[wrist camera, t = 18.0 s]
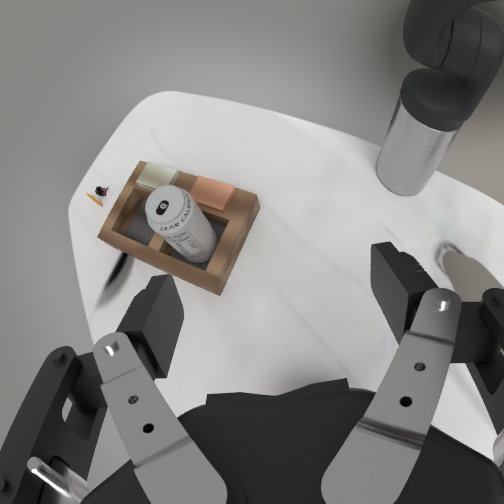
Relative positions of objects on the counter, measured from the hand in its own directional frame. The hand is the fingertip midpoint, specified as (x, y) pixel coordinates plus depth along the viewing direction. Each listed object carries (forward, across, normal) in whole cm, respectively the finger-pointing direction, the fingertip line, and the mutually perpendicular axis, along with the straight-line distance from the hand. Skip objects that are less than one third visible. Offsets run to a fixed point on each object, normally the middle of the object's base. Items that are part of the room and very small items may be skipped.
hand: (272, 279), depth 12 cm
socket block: (+36, +15, +10) cm, 40 cm away
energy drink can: (+33, +12, +13) cm, 37 cm away
